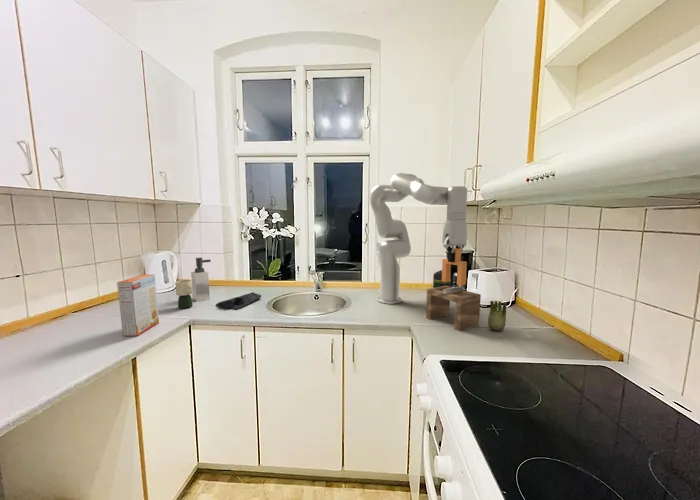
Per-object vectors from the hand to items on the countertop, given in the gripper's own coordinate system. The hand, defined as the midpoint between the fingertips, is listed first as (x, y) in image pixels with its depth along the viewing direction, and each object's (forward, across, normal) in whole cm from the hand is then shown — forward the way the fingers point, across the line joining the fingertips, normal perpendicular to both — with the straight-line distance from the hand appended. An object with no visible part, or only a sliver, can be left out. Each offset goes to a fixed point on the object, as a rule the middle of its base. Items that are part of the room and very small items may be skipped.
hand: (454, 261), depth 131 cm
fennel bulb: (+26, -7, +16) cm, 31 cm away
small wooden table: (+26, 0, 0) cm, 26 cm away
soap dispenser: (+26, +85, -92) cm, 128 cm away
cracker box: (+26, +112, -58) cm, 129 cm away
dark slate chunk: (+27, +70, -75) cm, 106 cm away
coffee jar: (+26, -9, -14) cm, 31 cm away
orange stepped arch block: (+9, 0, 0) cm, 9 cm away
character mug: (+26, +95, -81) cm, 127 cm away
